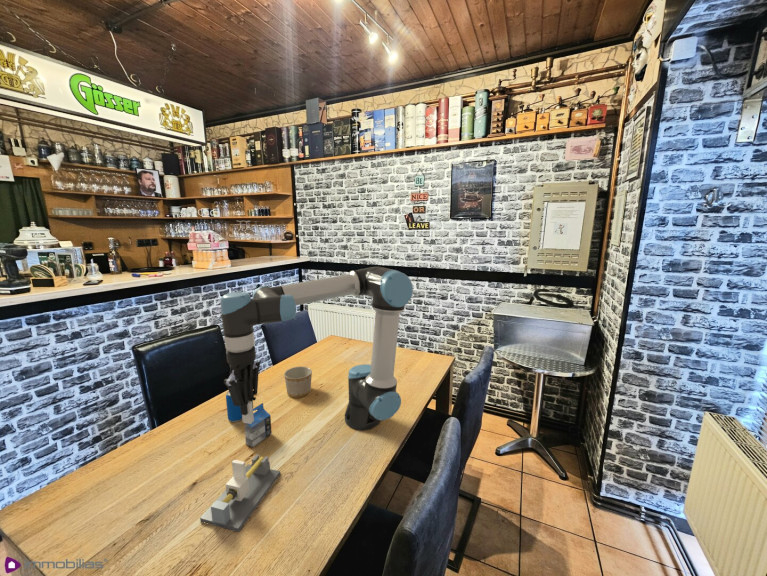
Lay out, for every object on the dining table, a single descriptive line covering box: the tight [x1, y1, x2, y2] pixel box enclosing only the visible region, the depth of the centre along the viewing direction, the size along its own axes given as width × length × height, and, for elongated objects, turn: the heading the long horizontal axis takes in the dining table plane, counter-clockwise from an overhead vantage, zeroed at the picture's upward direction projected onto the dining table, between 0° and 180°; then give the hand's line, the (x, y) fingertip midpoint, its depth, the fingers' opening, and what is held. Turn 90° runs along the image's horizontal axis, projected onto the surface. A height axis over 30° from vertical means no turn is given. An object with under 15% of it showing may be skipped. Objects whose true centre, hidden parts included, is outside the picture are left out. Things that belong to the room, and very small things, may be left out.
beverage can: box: [225, 390, 243, 423], centre depth 129 cm, size 6×6×12 cm
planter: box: [283, 366, 313, 399], centre depth 149 cm, size 13×13×10 cm
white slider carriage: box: [225, 459, 249, 501], centre depth 90 cm, size 5×4×10 cm
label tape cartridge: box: [244, 403, 273, 448], centre depth 116 cm, size 9×4×12 cm, turn 151°
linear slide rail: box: [199, 454, 281, 533], centre depth 93 cm, size 12×20×6 cm, turn 166°
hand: (248, 421), depth 93 cm, fingers closed
